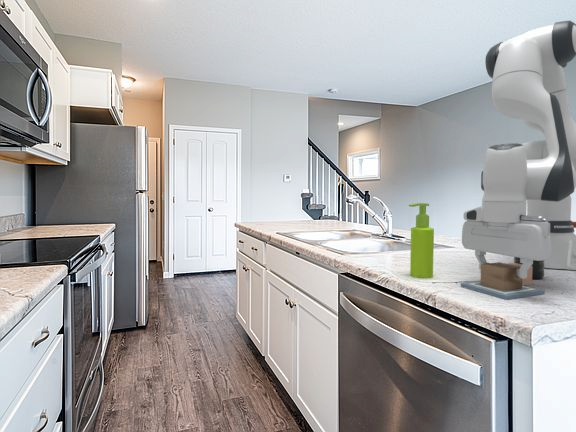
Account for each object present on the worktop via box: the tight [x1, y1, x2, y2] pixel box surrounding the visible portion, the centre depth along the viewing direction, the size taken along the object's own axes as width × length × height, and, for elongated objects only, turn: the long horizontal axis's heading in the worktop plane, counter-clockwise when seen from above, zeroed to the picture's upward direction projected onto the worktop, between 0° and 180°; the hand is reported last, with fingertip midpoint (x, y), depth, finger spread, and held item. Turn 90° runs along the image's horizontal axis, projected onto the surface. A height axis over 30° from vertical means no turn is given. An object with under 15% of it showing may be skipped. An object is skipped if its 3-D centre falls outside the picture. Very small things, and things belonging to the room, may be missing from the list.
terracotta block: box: [507, 262, 533, 286], centre depth 92 cm, size 5×5×4 cm
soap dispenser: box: [408, 202, 435, 279], centre depth 99 cm, size 6×7×20 cm
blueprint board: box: [460, 280, 546, 301], centre depth 85 cm, size 12×12×1 cm
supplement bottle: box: [513, 257, 545, 280], centre depth 98 cm, size 7×7×12 cm
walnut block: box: [480, 261, 523, 291], centre depth 84 cm, size 6×6×5 cm
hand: (501, 273), depth 84 cm, fingers open, 8 cm apart
